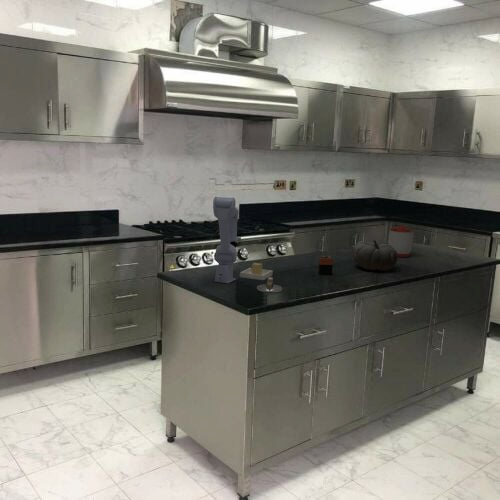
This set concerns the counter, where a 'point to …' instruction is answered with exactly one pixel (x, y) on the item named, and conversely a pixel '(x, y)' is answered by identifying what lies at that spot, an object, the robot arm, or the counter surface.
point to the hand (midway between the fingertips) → (230, 256)
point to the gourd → (375, 256)
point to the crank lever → (269, 282)
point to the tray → (249, 275)
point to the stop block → (257, 268)
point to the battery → (325, 265)
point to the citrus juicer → (401, 240)
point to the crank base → (264, 289)
